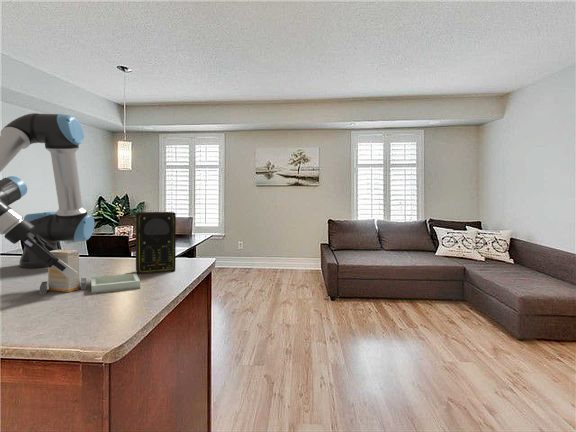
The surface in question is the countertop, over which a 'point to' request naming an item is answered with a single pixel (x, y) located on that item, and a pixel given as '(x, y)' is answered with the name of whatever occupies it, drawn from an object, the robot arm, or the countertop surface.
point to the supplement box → (58, 279)
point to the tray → (114, 283)
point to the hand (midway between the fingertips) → (74, 271)
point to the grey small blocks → (45, 286)
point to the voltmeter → (155, 242)
